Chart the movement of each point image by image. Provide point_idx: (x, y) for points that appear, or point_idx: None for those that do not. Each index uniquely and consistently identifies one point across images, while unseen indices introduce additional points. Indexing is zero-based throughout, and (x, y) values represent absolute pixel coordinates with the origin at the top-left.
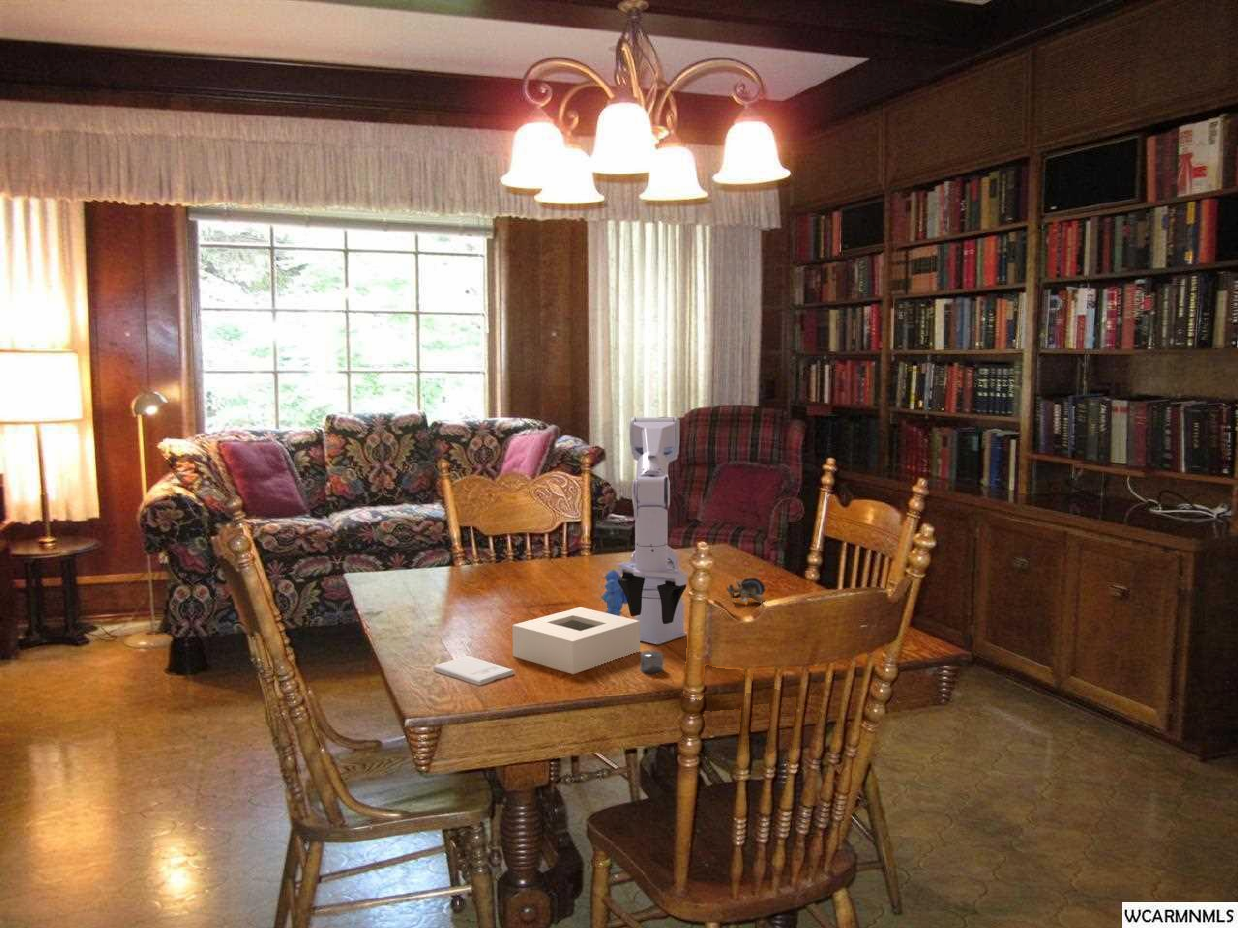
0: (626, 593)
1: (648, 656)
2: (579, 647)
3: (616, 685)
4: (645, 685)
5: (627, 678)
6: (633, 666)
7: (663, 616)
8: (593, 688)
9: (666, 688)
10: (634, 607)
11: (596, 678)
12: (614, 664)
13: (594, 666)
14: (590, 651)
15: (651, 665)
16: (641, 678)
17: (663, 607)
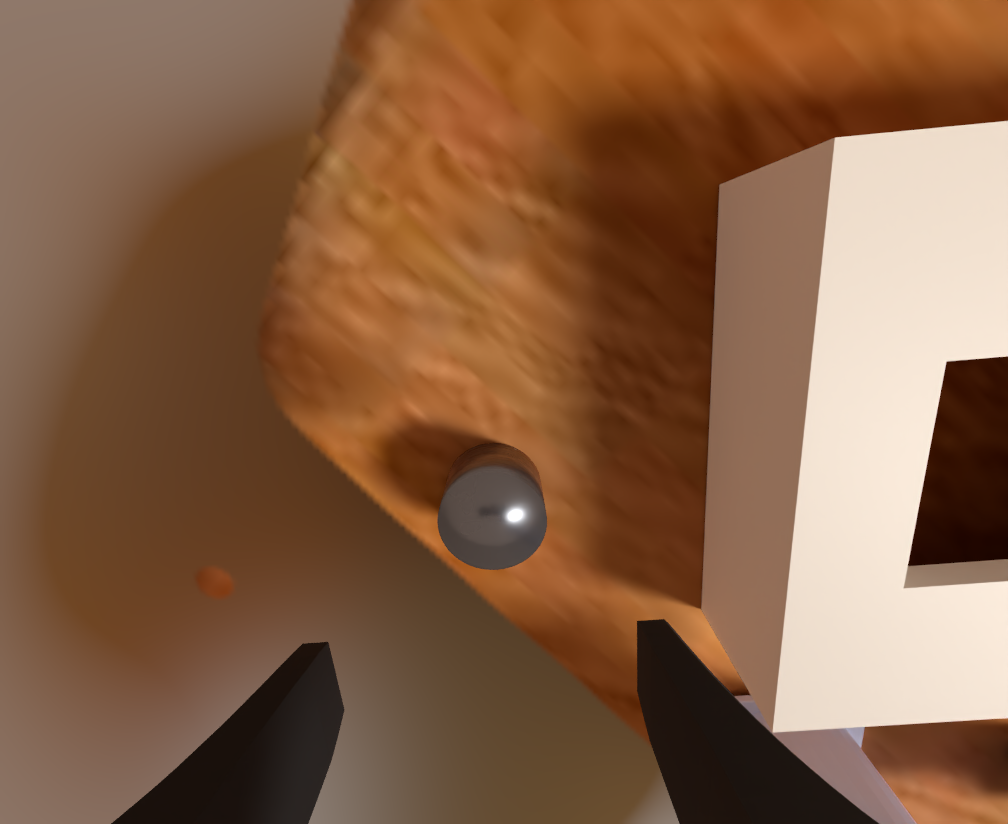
0: (791, 798)
1: (480, 491)
2: (789, 225)
3: (445, 233)
4: (360, 333)
5: (485, 340)
6: (586, 468)
7: (279, 683)
8: (487, 112)
9: (274, 371)
10: (660, 696)
11: (587, 232)
12: (667, 429)
13: (713, 340)
14: (755, 321)
15: (456, 470)
16: (444, 385)
17: (215, 761)
